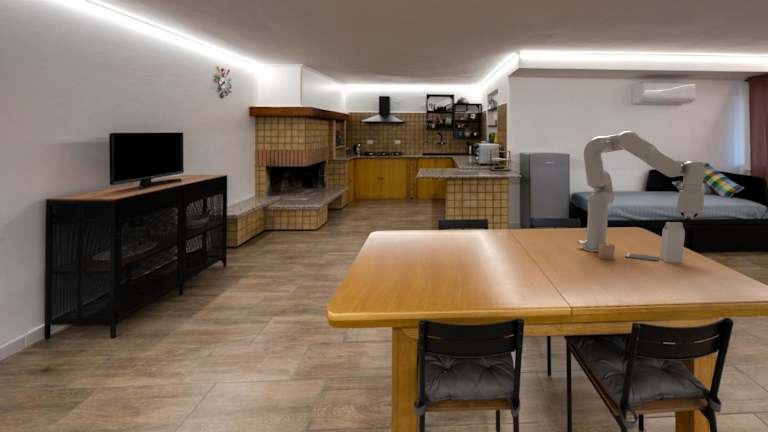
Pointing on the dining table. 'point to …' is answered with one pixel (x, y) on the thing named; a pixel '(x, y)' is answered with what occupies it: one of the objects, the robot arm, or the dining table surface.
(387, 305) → the dining table surface
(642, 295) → the dining table surface
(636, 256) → the grey flat bar
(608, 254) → the tan block
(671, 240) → the milk carton
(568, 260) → the dining table surface
